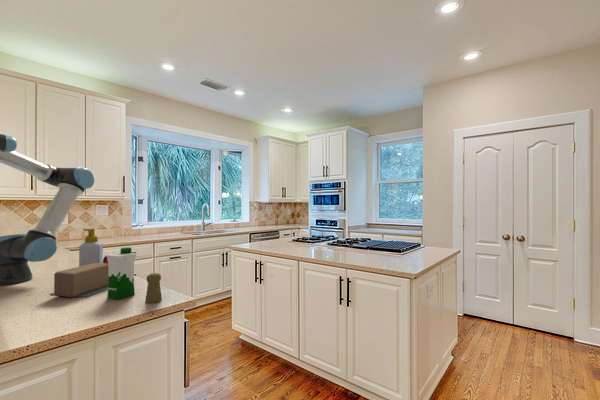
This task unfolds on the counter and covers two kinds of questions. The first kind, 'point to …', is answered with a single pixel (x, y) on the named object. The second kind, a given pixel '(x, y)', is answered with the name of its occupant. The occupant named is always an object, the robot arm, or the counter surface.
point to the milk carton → (121, 274)
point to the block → (81, 279)
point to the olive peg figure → (153, 289)
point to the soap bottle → (90, 250)
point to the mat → (91, 292)
